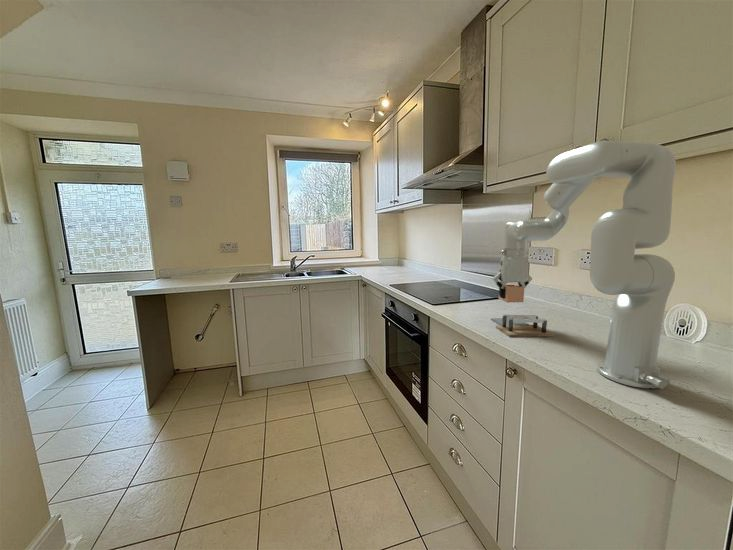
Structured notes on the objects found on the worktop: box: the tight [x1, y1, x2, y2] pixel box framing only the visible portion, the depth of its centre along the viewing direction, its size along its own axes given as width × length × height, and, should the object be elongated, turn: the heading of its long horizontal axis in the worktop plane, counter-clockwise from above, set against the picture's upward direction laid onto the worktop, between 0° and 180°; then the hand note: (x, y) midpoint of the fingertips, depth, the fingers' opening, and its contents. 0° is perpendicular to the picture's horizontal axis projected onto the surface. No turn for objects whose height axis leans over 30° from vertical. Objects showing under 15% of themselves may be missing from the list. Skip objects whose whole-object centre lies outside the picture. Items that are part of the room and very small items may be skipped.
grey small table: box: [502, 314, 548, 333], centre depth 108 cm, size 8×12×5 cm
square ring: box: [498, 283, 525, 303], centre depth 117 cm, size 7×7×6 cm
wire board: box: [495, 324, 554, 338], centre depth 108 cm, size 10×16×1 cm, turn 93°
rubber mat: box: [490, 317, 530, 326], centre depth 119 cm, size 9×11×1 cm
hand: (510, 297), depth 117 cm, fingers closed on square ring, 6 cm apart
